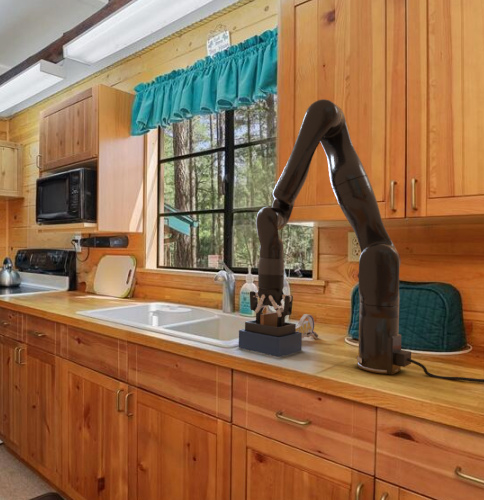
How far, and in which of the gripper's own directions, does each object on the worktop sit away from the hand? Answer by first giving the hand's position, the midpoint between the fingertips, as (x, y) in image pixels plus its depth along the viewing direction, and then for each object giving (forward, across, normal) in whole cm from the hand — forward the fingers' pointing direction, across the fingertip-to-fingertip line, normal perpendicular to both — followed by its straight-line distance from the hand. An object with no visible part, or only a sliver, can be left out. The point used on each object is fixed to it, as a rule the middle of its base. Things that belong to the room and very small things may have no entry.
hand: (269, 326), depth 133 cm
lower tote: (+7, 0, 0) cm, 7 cm away
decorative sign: (+8, 0, +19) cm, 20 cm away
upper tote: (+7, 0, 0) cm, 7 cm away
